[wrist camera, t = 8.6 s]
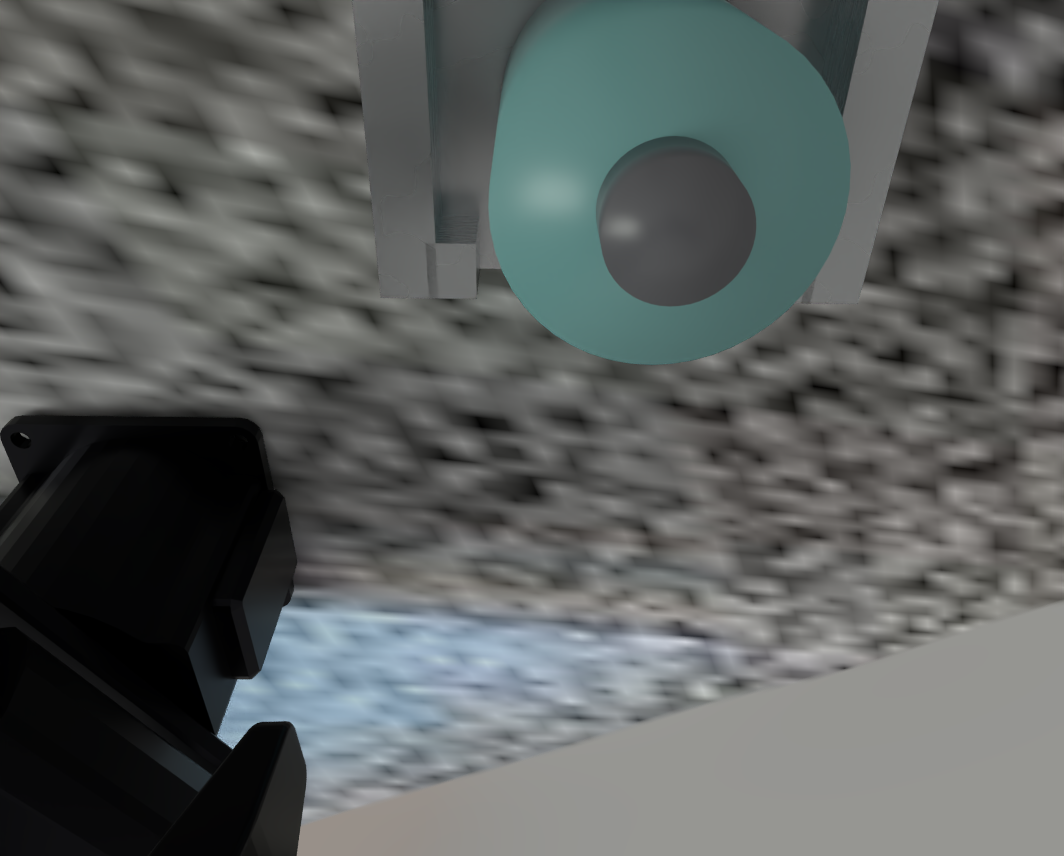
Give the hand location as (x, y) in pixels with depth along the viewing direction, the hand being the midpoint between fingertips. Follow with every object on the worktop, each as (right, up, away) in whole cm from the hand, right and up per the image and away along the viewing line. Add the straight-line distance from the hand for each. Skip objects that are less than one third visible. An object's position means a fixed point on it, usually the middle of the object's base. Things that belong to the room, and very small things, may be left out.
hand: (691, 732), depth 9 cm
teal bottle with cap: (0, +10, +7) cm, 12 cm away
